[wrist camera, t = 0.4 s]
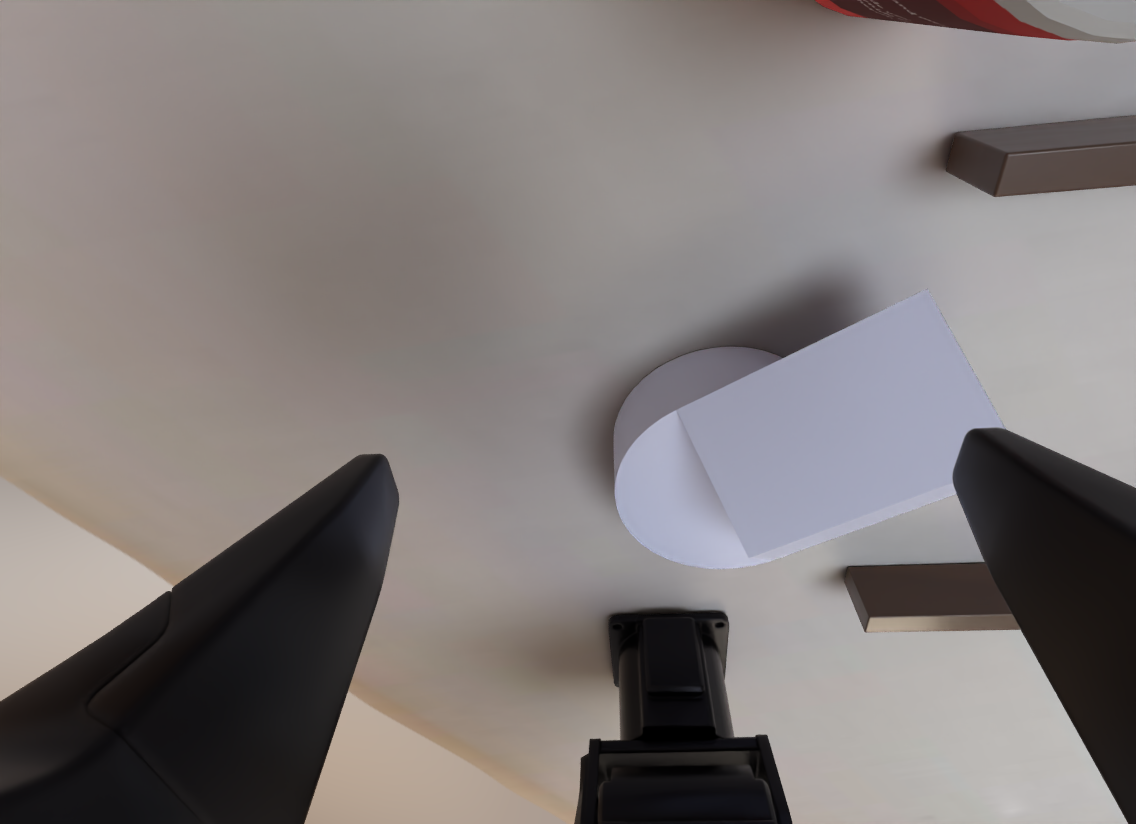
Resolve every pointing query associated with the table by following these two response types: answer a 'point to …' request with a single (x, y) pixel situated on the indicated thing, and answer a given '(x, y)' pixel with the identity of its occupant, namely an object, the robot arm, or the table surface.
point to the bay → (998, 169)
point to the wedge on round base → (795, 439)
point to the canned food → (1008, 16)
